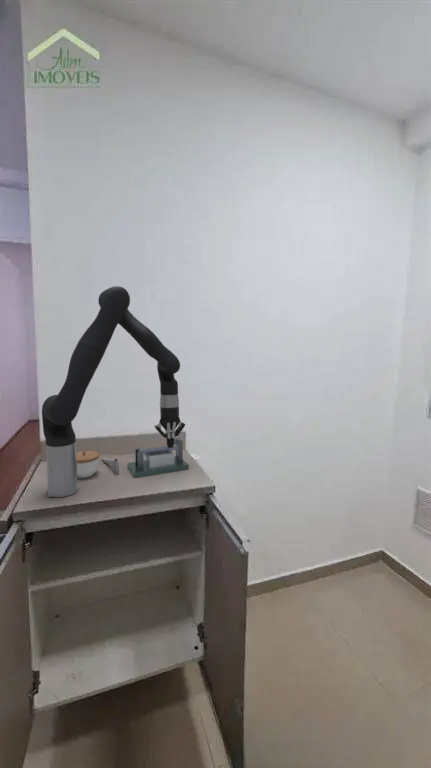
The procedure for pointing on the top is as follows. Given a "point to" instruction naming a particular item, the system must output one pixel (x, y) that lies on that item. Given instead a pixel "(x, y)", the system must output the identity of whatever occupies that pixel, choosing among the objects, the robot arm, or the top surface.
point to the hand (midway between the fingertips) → (170, 446)
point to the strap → (156, 449)
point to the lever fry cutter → (158, 462)
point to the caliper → (112, 464)
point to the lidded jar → (86, 463)
